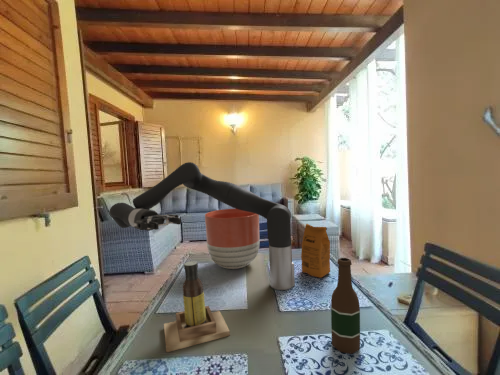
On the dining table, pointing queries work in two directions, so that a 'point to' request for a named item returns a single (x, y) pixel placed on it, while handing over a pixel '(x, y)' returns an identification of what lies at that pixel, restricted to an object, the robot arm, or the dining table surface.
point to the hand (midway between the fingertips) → (169, 223)
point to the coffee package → (315, 251)
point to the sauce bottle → (193, 296)
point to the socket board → (194, 331)
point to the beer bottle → (345, 311)
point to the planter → (232, 237)
